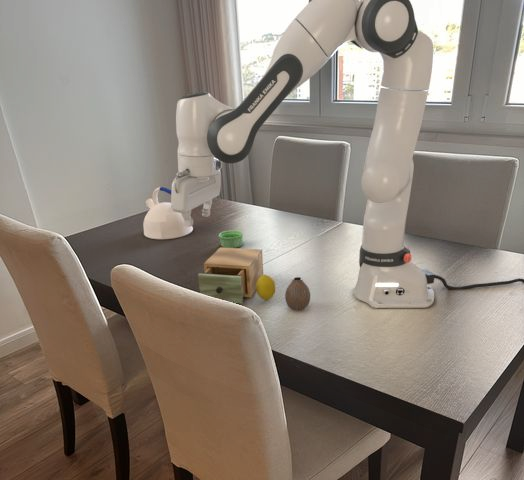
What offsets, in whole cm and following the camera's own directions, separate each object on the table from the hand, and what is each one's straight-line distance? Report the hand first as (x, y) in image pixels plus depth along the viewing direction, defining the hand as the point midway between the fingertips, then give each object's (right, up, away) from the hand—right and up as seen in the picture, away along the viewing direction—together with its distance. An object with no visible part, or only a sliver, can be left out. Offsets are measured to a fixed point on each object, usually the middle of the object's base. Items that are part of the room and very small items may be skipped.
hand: (197, 221), depth 128 cm
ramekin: (+5, +6, +56) cm, 57 cm away
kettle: (-22, +15, +74) cm, 79 cm away
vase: (+27, -22, +9) cm, 36 cm away
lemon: (+18, -20, +14) cm, 30 cm away
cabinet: (+9, -14, +23) cm, 28 cm away
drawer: (+7, -17, +17) cm, 25 cm away
